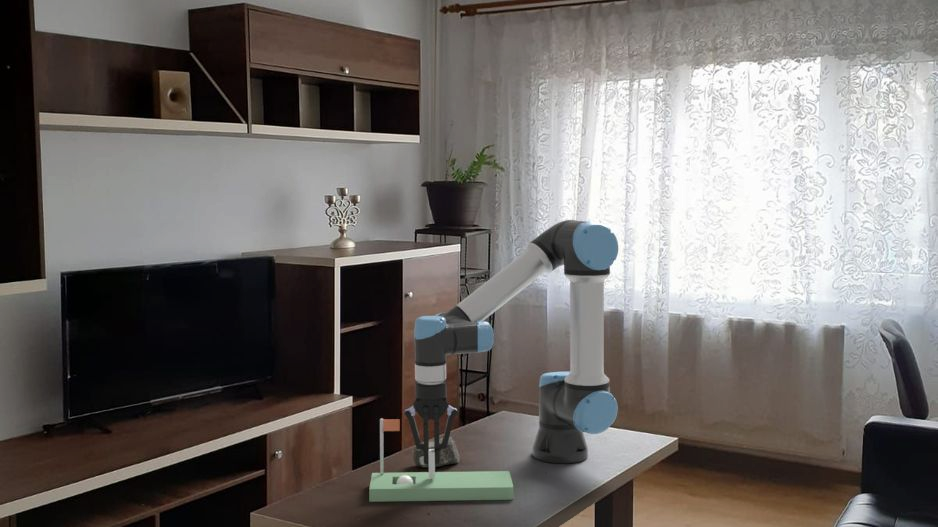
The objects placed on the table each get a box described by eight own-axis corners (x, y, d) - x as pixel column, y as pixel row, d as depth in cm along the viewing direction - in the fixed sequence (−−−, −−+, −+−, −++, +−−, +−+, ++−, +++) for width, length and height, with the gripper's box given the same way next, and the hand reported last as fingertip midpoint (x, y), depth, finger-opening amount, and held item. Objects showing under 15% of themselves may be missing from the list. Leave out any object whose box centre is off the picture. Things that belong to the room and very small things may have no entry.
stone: (434, 487, 241) (416, 454, 239) (421, 484, 247) (403, 452, 245) (473, 456, 247) (455, 424, 245) (460, 453, 253) (443, 423, 252)
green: (509, 482, 232) (509, 416, 230) (513, 499, 220) (514, 429, 218) (372, 484, 230) (371, 417, 229) (369, 501, 218) (368, 430, 217)
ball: (402, 469, 226) (393, 483, 226) (402, 475, 222) (393, 488, 222) (416, 478, 226) (407, 492, 226) (416, 484, 222) (407, 497, 222)
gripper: (457, 377, 227) (458, 471, 229) (403, 377, 226) (405, 472, 228) (458, 384, 219) (459, 481, 221) (402, 385, 219) (404, 482, 221)
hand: (431, 476), depth 225 cm, fingers closed
